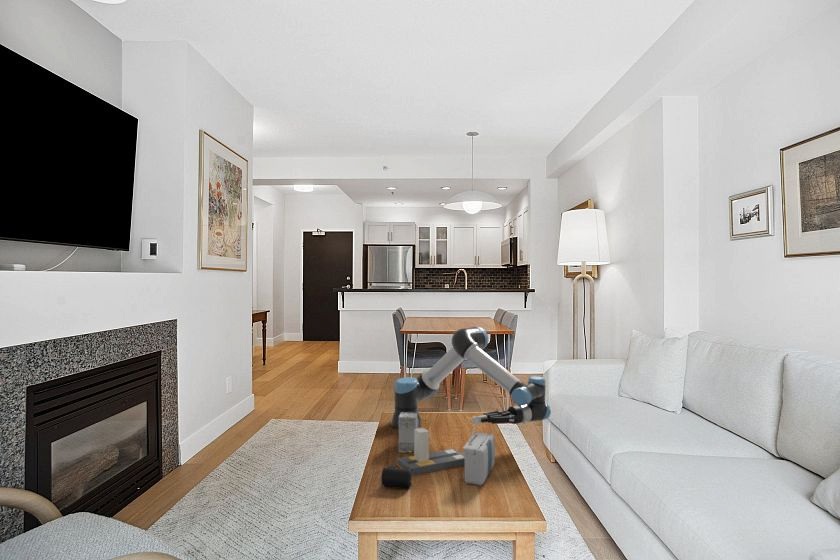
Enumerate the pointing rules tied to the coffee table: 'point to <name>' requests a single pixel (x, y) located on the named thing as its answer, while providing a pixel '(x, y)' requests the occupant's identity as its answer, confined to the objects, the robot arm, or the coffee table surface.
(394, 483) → the end cap
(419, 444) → the slider tab
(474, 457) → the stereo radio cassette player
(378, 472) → the coffee table surface
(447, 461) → the grey flat board
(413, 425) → the circuit breaker
